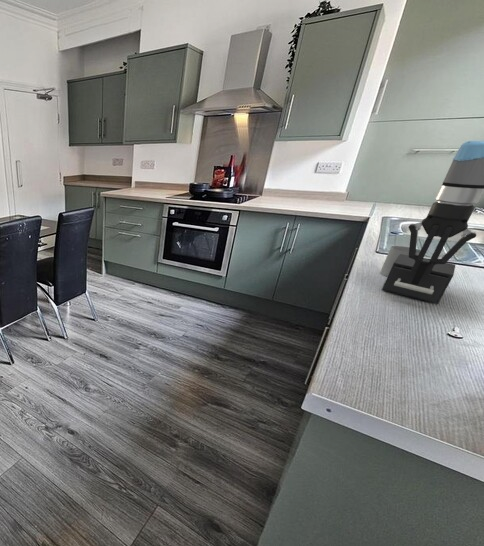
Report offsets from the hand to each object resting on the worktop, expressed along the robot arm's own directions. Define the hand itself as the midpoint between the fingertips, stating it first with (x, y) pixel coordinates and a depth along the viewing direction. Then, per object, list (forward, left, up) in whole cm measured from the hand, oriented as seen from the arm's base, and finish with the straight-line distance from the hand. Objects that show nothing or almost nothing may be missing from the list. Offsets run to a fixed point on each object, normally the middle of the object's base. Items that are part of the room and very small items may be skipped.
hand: (414, 282), depth 92 cm
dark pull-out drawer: (-3, -6, -5) cm, 8 cm away
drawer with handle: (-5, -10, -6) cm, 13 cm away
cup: (-6, -25, -6) cm, 26 cm away
